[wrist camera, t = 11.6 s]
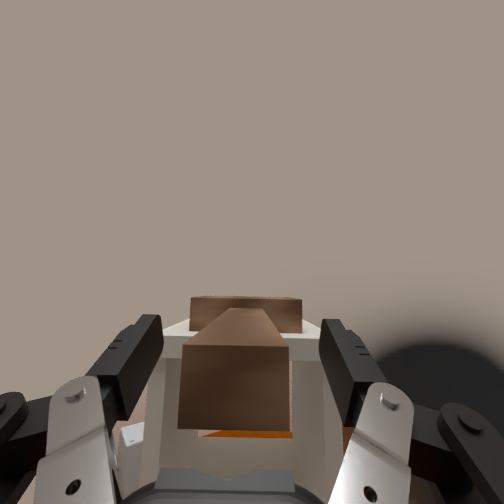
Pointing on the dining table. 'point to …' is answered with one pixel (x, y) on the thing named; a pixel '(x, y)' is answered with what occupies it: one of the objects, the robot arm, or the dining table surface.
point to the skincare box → (130, 456)
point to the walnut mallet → (237, 363)
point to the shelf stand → (247, 449)
